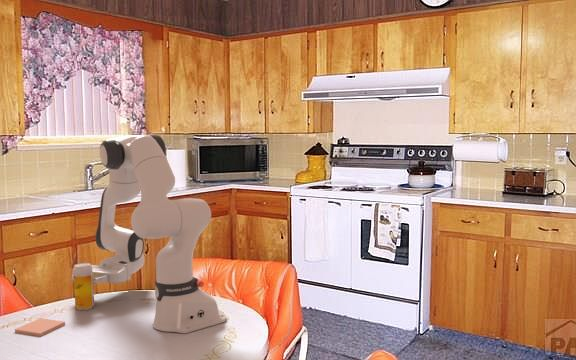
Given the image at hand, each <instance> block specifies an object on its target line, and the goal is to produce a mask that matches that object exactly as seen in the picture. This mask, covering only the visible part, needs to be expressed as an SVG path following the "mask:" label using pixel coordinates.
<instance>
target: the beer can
mask: <svg viewBox="0 0 576 360" xmlns="http://www.w3.org/2000/svg"><path fill="white" fill-rule="evenodd" d="M91 265H92V264H91V263H90V262H80V263H76V264H74V266H73V268H72V270H73V273H74V281H73V286H74V287H73V288H74V290H73V291H74V306H75V308H76V309H77V310H78V311H87V310H91V309H93V307H94V305H95V293H94V281H93V271H92V266H91Z"/></svg>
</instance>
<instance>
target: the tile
mask: <svg viewBox="0 0 576 360" xmlns="http://www.w3.org/2000/svg"><path fill="white" fill-rule="evenodd" d="M63 326H66V321H63V320H56V319H50V318H42V317H40V318H37V319H35V320H33V321H31V322H28V323H26V324H24V325H21V326H19V327H16V328H15V329H14V332H15V333H16V334H18V333H19V334H24V335H30V336H35V337H36V336H37V337H43V336H44V335H46V334H48V333H51V332H53V331H55V330H56V329H59V328H61V327H63Z"/></svg>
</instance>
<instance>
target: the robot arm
mask: <svg viewBox="0 0 576 360" xmlns="http://www.w3.org/2000/svg"><path fill="white" fill-rule="evenodd" d="M166 147H167V146H166V143H165V141H164V139H163V137H162V136H160V135H158V134H153V133H152V134H151V133H149V134H135V135H132V134H130V135H123V136H119V137H111V138H107V139H105V140H103V141H102V143H101V144H100V146H99V158H100V160H101V163H102V165H103V166H104V167H105V168H106V169H108V170H109V172H108V174H109V178H108V179H109V182H108V186H106V187H105V188H104V189H103V191H102V194H101V199H100V206H99V215H98V216H99V217H98V225H97V228H96V232H95V236H94V239H95V243H96V246H97V247H98V249H100V250H105V251H109V252H113V253H115V255H112V256H110V257H107V258H104V259H102V260H101V261H100V262H99V264H98V265H95V264H91V266H92V271H93V284H95V285H99V284H102V283H106V284H107V283H108V284H109V283H110V284H117V285H118V284H123V283H124V282H129V281H131V277H132V274H134V273H136V272H138V271H139V270H140V269H141V268H142V267H143V266H144V264H145V260H146V259H145V255H144V253H143V252H144V249H145V248H144V247H145V246H144V245H145V242H144V239H153V240H157V239H163V238H168V237H169V240H168V242H167V244H166V245H165V246H163V248H162V249H160V250H159V252H157V255H156V257H155V273H156V275H155V276H156V279H155V281H154V283H155V284H154V285H155V286H154V295H155V299H156V304H155V305H156V306H155V312H154V313H155V314H154V319H153V323H152V326H153V328H154V329H155V330H158V331H162V332H169V333H171V332H172V333H173V332H174V333H179V334H189V333H191V332H195V331H198V330H202V329H204V328H208V327H212V326H215V325H219V324H222V323H225V322H226V320H227V317H226V314H225V313H224V312H223V311H222V310H221V309H219V306H218V303H217V301H216V299H215V298H214V297H213V296H212V295H210V294H209V293H207V292H205V291H204V290H202V289H201V288H203V287H204V286H205V285H204V284H205V282H204V281H203V280H202V279H199V278H196V277H194V274H193V269H194V268H193V267H194V266H193V265H194V263H193V260H194V259H193V258H194V251H195V247H196V246H197V242H198V240H199V237H200V236H201V235H202V233H203V232H204V231H205V229H206V228H207V227H209V225H210V222H211V221H212V210H211V208H210V205H209V204H208V202H206V201H205V200H204V199H202V198H201V199H200V198H194V197H186V198H185V197H184V198H177V199H169V198H168V196H167V195H168V194H170V192H171V191H172V190H173V188H174V187H175V186H176V185H175V184H176V177H175V174H174V172H173V170H172V168H171V165H170V163H169V160H168V159H167V156H166V155H167V148H166ZM140 193H141V196H140V197H141V198H140V202H139V203H138V205H137V206H136V207H135V209H134V210H133V211H132V214H131V216H130V217H131V218H130V226H131V229H130V228H126V227H122V226H119V225H118V224H117V223H115V215H116V207H117V204H123V203H127V202H129V201H132V200H133V199H135V198H136V197H138V196H139V194H140ZM71 274H72V275H71V281H72V282H74V273H73V269H72V271H71Z"/></svg>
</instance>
